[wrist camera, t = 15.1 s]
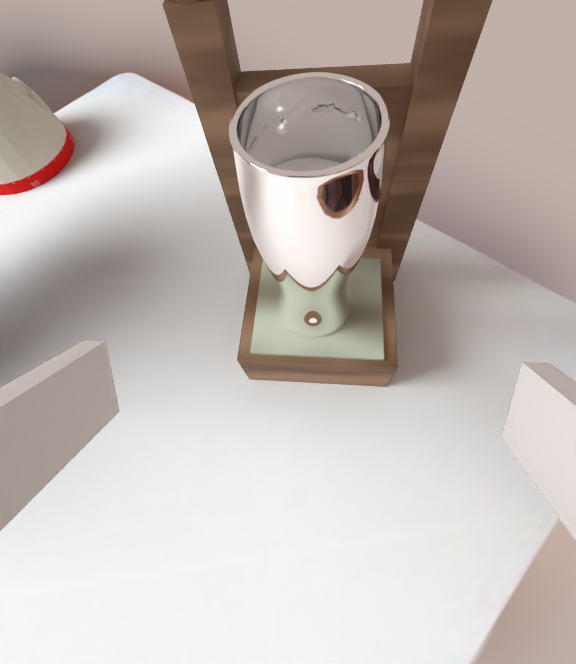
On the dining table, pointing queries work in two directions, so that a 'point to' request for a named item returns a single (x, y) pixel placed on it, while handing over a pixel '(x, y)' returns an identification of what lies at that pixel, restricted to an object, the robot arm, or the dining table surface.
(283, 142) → the white tumbler cup
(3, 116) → the kitchen timer
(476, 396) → the dining table surface
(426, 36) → the wooden l-shaped piece
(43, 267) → the dining table surface
